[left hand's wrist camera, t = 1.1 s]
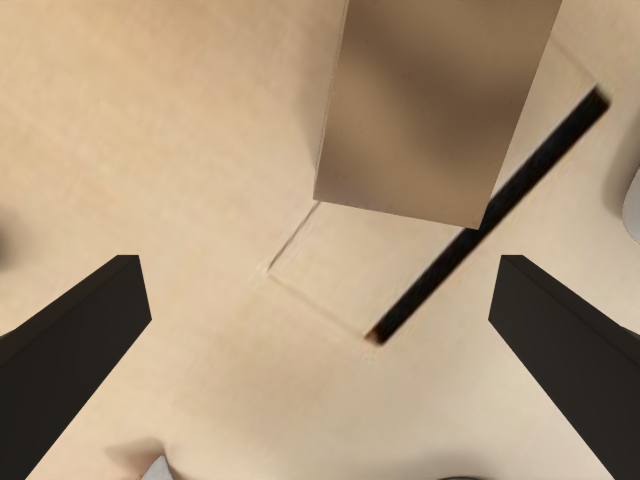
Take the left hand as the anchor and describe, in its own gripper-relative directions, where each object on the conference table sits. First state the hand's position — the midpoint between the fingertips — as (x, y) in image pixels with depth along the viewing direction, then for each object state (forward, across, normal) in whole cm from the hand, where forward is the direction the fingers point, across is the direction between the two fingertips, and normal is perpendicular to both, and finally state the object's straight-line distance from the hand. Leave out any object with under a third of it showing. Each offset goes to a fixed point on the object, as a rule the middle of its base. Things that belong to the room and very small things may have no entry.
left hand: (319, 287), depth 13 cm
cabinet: (+21, -7, -8) cm, 24 cm away
